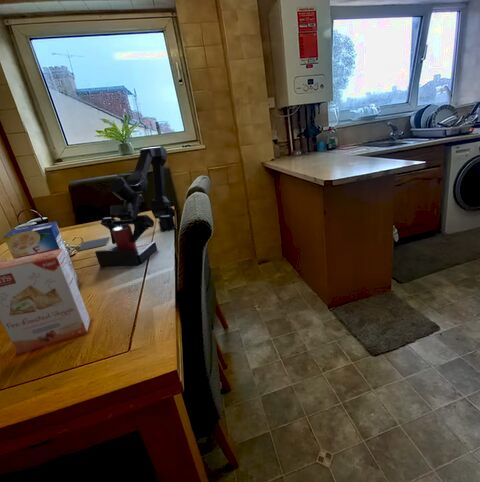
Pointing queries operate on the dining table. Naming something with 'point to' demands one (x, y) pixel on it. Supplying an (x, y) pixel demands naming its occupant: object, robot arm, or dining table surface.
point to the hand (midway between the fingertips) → (123, 243)
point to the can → (124, 237)
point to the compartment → (124, 256)
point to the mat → (93, 244)
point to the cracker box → (40, 301)
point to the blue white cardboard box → (37, 242)
